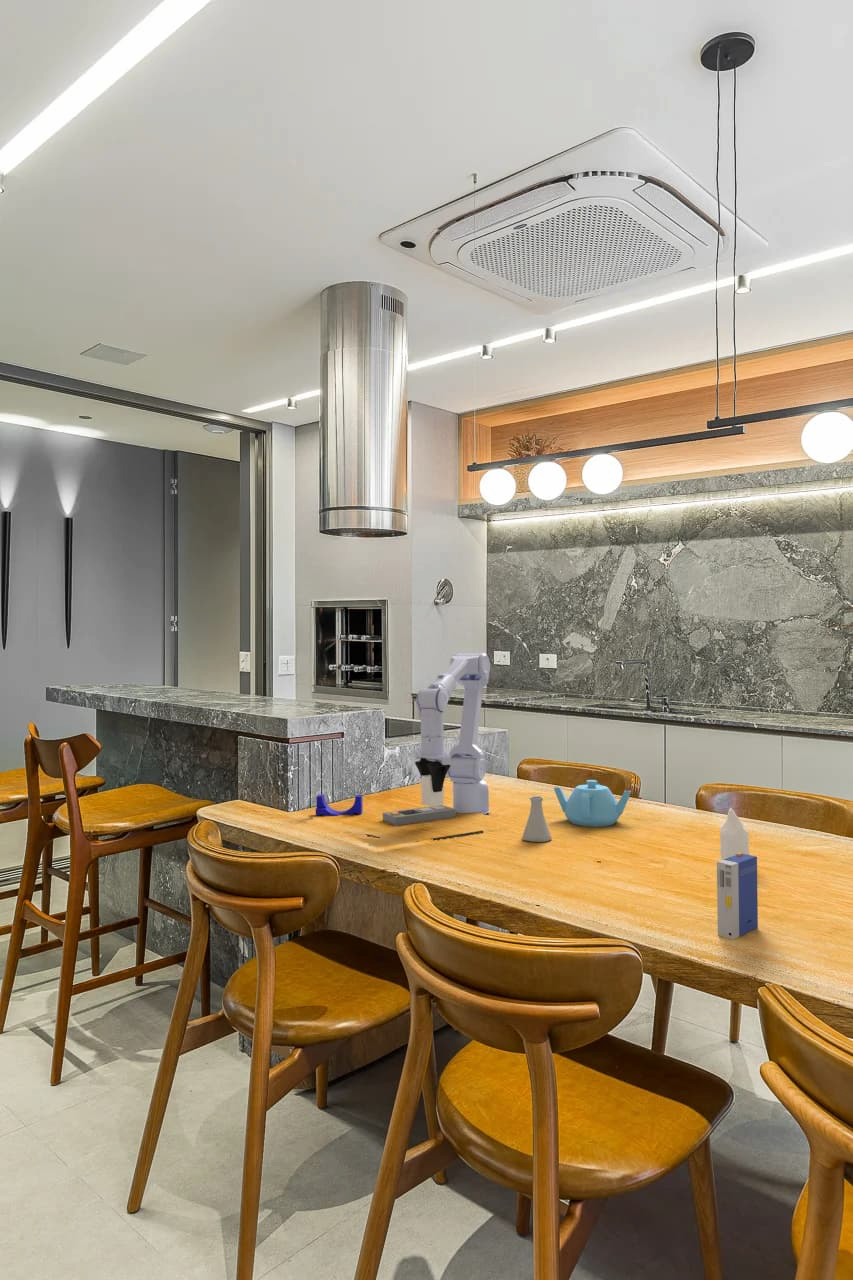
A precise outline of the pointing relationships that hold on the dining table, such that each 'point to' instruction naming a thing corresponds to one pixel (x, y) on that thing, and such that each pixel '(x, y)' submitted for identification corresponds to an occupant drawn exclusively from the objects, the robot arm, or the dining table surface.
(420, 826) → the dining table surface
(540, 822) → the flask
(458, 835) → the rubber mat
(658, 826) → the dining table surface
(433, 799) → the plug
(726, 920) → the walkman
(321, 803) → the blue arch block
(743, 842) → the glue bottle
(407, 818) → the power strip
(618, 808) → the teapot
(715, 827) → the dining table surface
